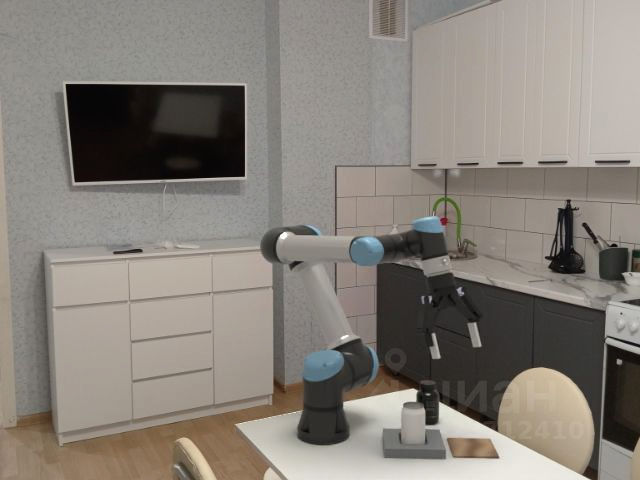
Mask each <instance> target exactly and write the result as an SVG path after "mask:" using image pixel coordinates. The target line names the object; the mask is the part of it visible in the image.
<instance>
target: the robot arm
mask: <svg viewBox="0 0 640 480" xmlns="http://www.w3.org/2000/svg"><path fill="white" fill-rule="evenodd" d="M444 233H445V231H444V228H443V225H442V222H441V219H440V217H438V216H436V215H434V216H433V215H432V216H427V217H426V216H425V217H422V218H419V219H415V220H414V221H412V229H409V230H406V231H402V232H400V233H399V232H398V233H392V234H383V235H375V236H371V235H370V236H365V235H363V236H361V235H358V236H357V235H353V236H351V235H323V234H322V232H321V231H320V230H319V229H318V228H316V227H315V226H312V225H309V224H308V225H306V224H299V225H292V226H291V225H289V226H277V227H273V228H271V229H269V230H268V231H266V232H265V233H264V234H263V236H261V239H260V243H259V249H260V254H261V255H262V257H263V258H264V260H266V261H267V262H268V263H270V264H272V265H277V266H278V265H279V266H281V265H288V268H289V270H290V272H291V274H293V275H296V276H298V278H299V281H300V283H301V285H302V288H303V291H304V293H305V295H306V298H307V300H308V303H309V305H310V307H311V310H312V311H313V314H314V316H315V319H316V322H317V323H318V326H319V328H320V330H321V333H322V335H323V338H324V339H325V343H326V344H327V347H326V349H325V350H324V349H323V350H317V351H314V352H312V353H310V354H308V355H307V356H305V358H304V359H303V362H302V370H301V371H302V372H301V375H302V411H301V413H300V418H299V420H298V424H297V427H296V429H297V430H296V431H297V432H296V434H297V438H299V439H300V441H303V442H305V443H308V444H314V445H333V444H338V443H341V442H344V441H345V440H347V439H348V438H349V437H350V435H351V434H350V433H351V431H350V424H349V421H348V418H347V415H346V412H345V408H344V400H345V399H344V394H345V393H348V392H350V391H353V390H355V389H359V388H362V387H364V386H367V385H368V384H370V383H371V382H373V380H375V378H376V376H377V375H378V371H379V367H380V366H379V365H380V364H379V358H378V355H377V353H376V351H375V350H374V349H373V348H372V347H370V346H368V345H365V344H364V342H363V341H362V338H361V337H360V336H358V335H356V334H354V332H353V330H352V327H351V325H350V323H349V321H348V319H347V317H346V314H345V312H344V309H343V307H342V305H341V303H340V300H339V298H338V296H337V293H336V291H335V290H334V286H333V285H332V282H331V280H330V278H329V275H328V273H327V271H326V268H325V266H324V263H333V264H334V263H336V264H354V265H355V264H356V265H358V266H359V267H373V266H376V265H381V264H391V263H398V262H401V261H405V260H408V259H412V258H415V257H419V256H420V257H419V258H420V261H421V267H422V272H423V275H424V276H426V278H425V284H426V286H427V287H426V288H427V290H428V292H429V295H422V296H420V297H419V300H420V308H419V315H418V321H417V327H416V334H418V335H419V334H421V335H422V336H423V335H424V338H425V343H426V347H428V348H429V350H430V354H431V359H432V360H438V359H441V357H442V356H441V354H440V350H439V349H440V348H439V346H438V342H437V337H436V336H437V335H436V333H435V332H433V331H434V328H435V326H436V323H437V320H438V318H439V315H440V313H441V312H442V310H446V309H449V308H454V309H455V310H456V311H457V312H458V313H460V314H461V315H462V316H463V317H464V318H465V319H467V321H468V322H469V323H468V322H467V327H468V331H469V335H470V339H471V345H472V348H481V347H482V343H481V338H480V333H481V329H480V326H479V322H480V321H481V319H482V318H483V317H484V314H483V313H482V312H481V310H480V308H479V307H478V306H477V304H476V303H475V302H474V300H473V299H472V298H471V296H470V295H469V293H468V289H467V288H466V286H462V287H458V288H457V287H456V280H455V273H453V272H451V271H452V269H453V266H452V264H451V263H452V262H451V259H450V255H449V251H448V246H447V241H446V237H445V234H444ZM458 296H459V298H460V299H461V300H460V299H459V298H458ZM431 303H432V305H431ZM430 305H431V306H430ZM432 332H433V333H432Z"/></svg>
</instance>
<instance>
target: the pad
mask: <svg viewBox="0 0 640 480" xmlns="http://www.w3.org/2000/svg"><path fill="white" fill-rule="evenodd" d="M446 442H447V444H448V446H449V450H450V453H451V456H452V458H455V459H457V458H458V459H459V458H460V459H461V458H462V459H465V458H466V459H467V458H468V459H500V456H499V454H498V451H497V450H496V447H495V445H494V444H493V441H492V440H491V438H487V437H486V438H484V437H483V438H481V437H480V438H479V437H478V438H477V437H447V438H446Z"/></svg>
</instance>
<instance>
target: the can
mask: <svg viewBox="0 0 640 480" xmlns="http://www.w3.org/2000/svg"><path fill="white" fill-rule="evenodd" d="M400 414H401V415H400V417H401V419H400V421H401V422H400V425H401V426H400V427H401V428H400V429H401V442H400V444H426V442H425V429H426V425H425V409H424V405H423V404H422V403H419V402H416V401H406V402H403V403H402V407H401V411H400Z"/></svg>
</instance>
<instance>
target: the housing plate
mask: <svg viewBox="0 0 640 480" xmlns="http://www.w3.org/2000/svg"><path fill="white" fill-rule="evenodd" d="M382 443H383V453H384V455H383V456H384V458H385V459H422V460H425V459H426V460H427V459H428V460H431V459H432V460H434V459H435V460H436V459H437V460H441V459H442V460H446V459H447V448H446V445H445V443H444V439H443V436H442V433H441V430H440V429H439V428H438V429H437V428H436V429H435V428H434V429H433V428H432V429H431V428H429V429H427V428H425V444H401V428H382Z"/></svg>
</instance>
